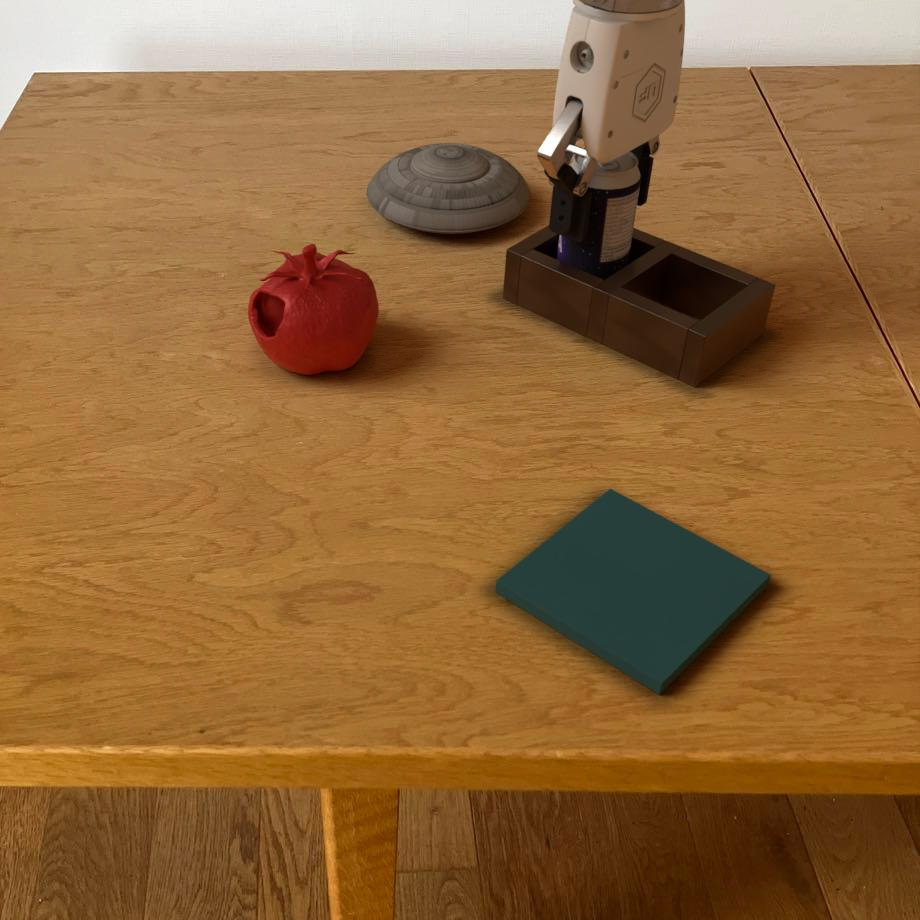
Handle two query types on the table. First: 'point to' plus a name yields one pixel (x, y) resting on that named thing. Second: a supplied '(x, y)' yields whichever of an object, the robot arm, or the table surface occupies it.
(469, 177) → the flying saucer
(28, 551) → the table surface
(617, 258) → the beverage can
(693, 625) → the mat
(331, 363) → the pomegranate
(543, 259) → the box
